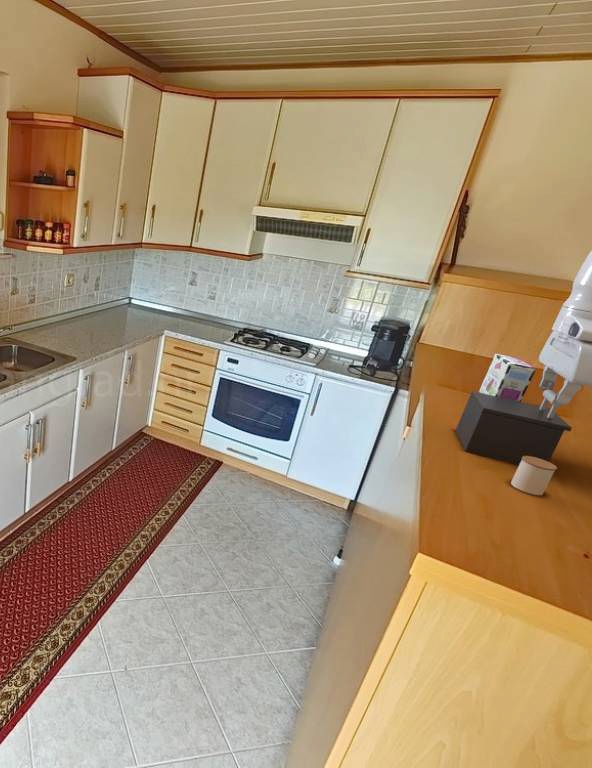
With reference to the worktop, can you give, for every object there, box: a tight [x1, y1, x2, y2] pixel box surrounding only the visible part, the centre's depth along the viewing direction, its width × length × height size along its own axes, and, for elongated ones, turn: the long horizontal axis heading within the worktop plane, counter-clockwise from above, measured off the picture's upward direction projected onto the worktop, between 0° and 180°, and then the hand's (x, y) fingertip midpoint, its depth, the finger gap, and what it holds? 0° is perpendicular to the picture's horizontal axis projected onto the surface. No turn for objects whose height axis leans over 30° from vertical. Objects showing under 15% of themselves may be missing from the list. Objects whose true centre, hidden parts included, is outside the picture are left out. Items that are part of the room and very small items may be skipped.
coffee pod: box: [510, 456, 558, 496], centre depth 85 cm, size 5×5×5 cm
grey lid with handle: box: [470, 390, 573, 432], centre depth 98 cm, size 13×13×5 cm
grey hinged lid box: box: [455, 394, 565, 466], centre depth 100 cm, size 13×13×9 cm
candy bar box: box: [478, 353, 537, 402], centre depth 112 cm, size 11×5×16 cm, turn 154°
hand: (552, 395), depth 95 cm, fingers open, 8 cm apart
